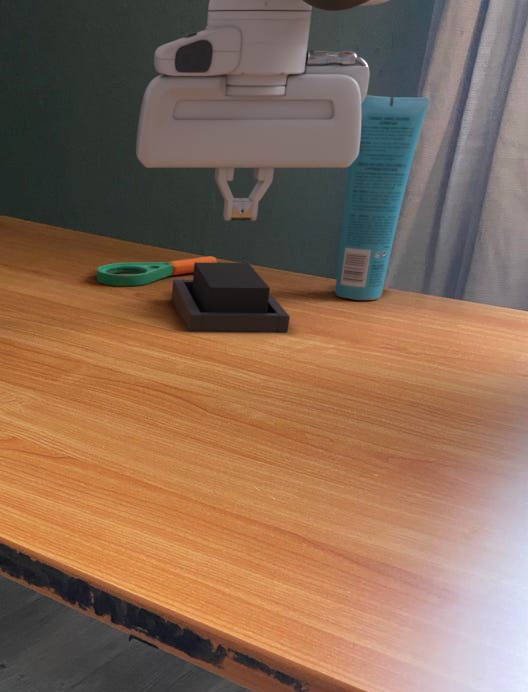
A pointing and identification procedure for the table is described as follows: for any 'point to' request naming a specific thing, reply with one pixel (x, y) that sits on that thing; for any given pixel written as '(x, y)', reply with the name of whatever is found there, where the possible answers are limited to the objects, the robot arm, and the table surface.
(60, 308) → the table surface
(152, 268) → the magnifying glass
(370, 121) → the tube
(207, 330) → the black tray
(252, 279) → the black block
